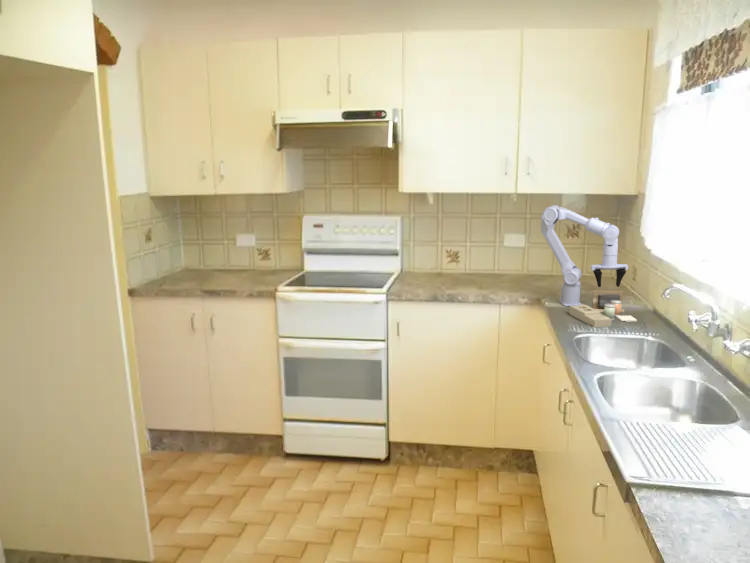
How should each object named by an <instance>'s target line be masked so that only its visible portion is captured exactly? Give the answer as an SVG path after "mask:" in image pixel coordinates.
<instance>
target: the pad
mask: <svg viewBox="0 0 750 563" xmlns="http://www.w3.org/2000/svg"><path fill="white" fill-rule="evenodd" d="M615 318H616V319H617V320H619V321H621V322H622V321H626V322H627V323H628V322H629V323H630V322H638V319H637V318H635V317H633V316H632V315H620V316H616V317H615ZM626 322H625V323H626Z"/></svg>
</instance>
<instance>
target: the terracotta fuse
mask: <svg viewBox="0 0 750 563" xmlns="http://www.w3.org/2000/svg"><path fill="white" fill-rule="evenodd" d="M611 304H615V316H614V318H616V316H621V313H622V312H621V308H622V307H621V301H620V300H611Z"/></svg>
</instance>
